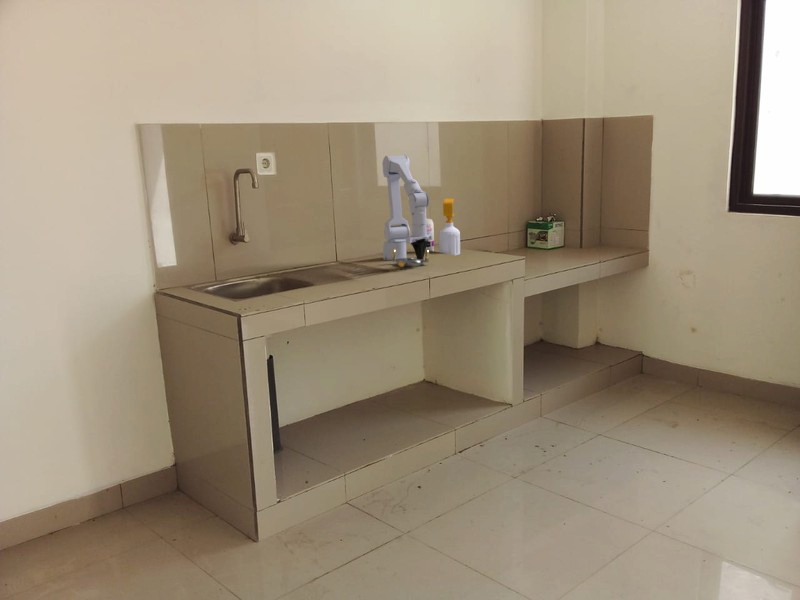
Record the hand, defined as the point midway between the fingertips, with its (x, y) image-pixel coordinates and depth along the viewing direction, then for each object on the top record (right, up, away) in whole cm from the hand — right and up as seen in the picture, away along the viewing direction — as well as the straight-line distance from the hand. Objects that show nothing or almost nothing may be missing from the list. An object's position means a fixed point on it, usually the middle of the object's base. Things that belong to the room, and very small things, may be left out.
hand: (420, 259), depth 264 cm
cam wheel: (-5, -2, +4) cm, 7 cm away
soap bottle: (+14, +4, +36) cm, 39 cm away
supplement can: (+4, +5, +44) cm, 44 cm away
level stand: (-4, -4, +5) cm, 8 cm away
